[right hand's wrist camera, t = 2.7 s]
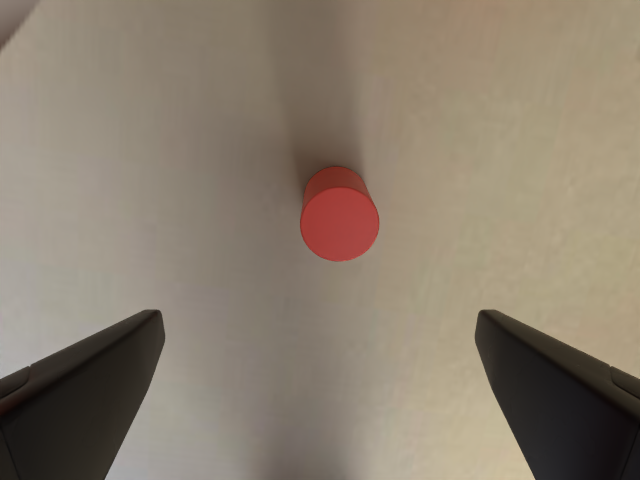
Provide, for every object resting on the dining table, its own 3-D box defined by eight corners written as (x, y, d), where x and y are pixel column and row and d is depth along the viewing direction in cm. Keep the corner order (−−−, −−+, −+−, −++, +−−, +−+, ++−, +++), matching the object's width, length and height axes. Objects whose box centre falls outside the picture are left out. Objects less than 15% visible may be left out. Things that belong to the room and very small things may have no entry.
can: (346, 153, 22) (353, 170, 17) (378, 207, 23) (393, 237, 18) (291, 188, 22) (284, 213, 18) (325, 238, 23) (327, 275, 19)
